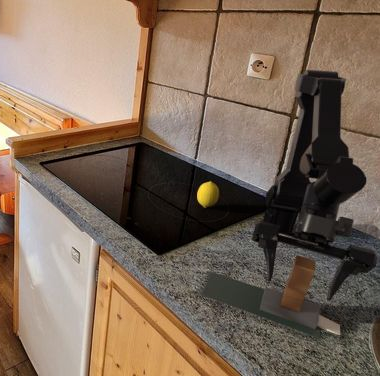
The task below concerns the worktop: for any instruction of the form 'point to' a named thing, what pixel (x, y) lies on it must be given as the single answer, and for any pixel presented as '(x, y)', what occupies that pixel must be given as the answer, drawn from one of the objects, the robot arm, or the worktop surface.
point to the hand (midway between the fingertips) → (298, 290)
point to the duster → (294, 296)
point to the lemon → (208, 194)
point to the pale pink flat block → (328, 325)
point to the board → (247, 300)
